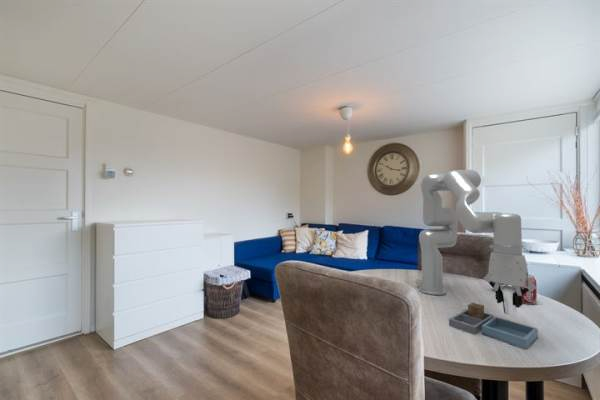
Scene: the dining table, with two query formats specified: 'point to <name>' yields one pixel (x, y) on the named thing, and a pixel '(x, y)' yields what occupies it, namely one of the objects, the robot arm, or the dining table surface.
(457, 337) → the dining table surface
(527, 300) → the soda can
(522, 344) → the tray
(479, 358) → the dining table surface
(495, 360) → the dining table surface
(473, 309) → the walnut peg
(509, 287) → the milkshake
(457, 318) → the holder
